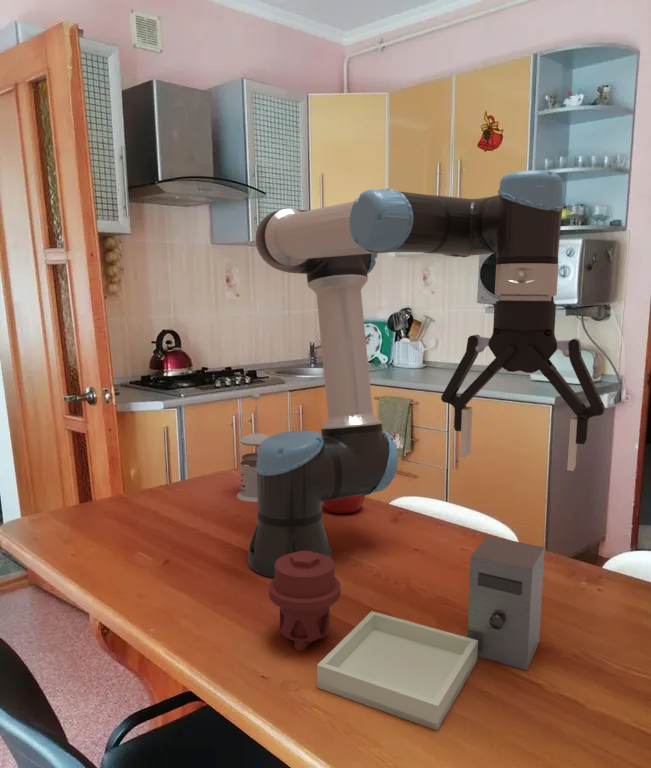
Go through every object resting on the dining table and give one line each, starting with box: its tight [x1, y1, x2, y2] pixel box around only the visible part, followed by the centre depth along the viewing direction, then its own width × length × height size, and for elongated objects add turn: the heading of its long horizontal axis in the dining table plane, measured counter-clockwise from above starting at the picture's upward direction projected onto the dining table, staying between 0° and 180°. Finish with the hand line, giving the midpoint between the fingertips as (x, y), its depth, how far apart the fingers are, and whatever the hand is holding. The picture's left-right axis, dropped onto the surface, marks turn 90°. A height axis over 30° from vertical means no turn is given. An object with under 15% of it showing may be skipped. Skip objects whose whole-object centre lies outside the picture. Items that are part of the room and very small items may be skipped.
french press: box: [236, 393, 270, 503], centre depth 152 cm, size 10×12×25 cm
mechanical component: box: [268, 551, 341, 652], centre depth 89 cm, size 12×10×10 cm
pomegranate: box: [322, 495, 366, 514], centre depth 143 cm, size 10×10×9 cm
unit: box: [467, 535, 546, 672], centre depth 86 cm, size 8×9×14 cm
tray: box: [316, 610, 478, 731], centre depth 81 cm, size 16×16×3 cm
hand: (516, 461), depth 83 cm, fingers open, 13 cm apart
